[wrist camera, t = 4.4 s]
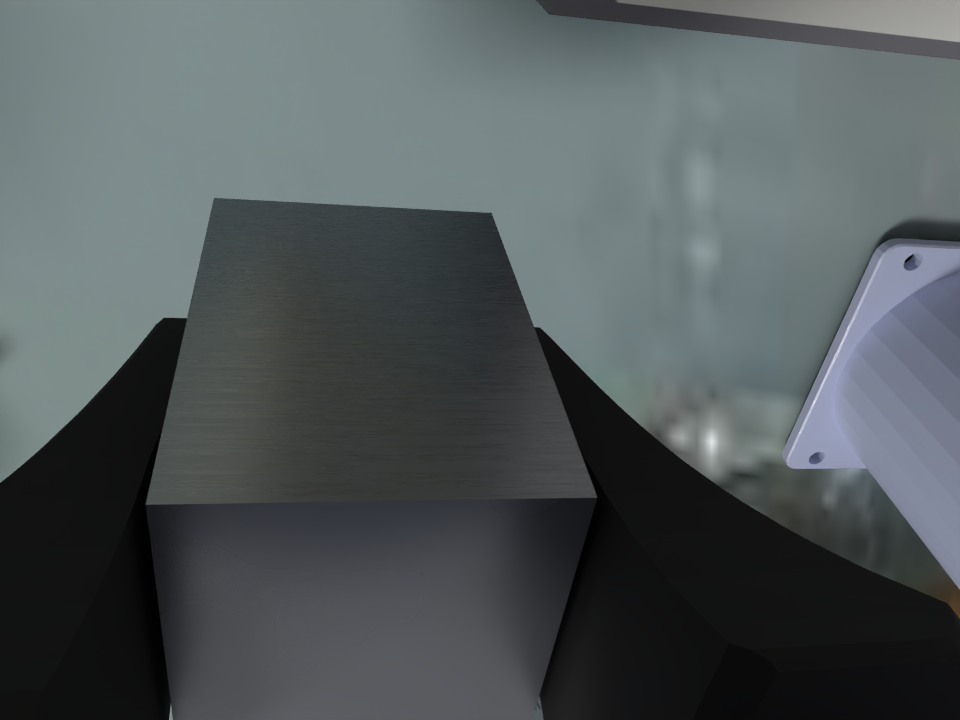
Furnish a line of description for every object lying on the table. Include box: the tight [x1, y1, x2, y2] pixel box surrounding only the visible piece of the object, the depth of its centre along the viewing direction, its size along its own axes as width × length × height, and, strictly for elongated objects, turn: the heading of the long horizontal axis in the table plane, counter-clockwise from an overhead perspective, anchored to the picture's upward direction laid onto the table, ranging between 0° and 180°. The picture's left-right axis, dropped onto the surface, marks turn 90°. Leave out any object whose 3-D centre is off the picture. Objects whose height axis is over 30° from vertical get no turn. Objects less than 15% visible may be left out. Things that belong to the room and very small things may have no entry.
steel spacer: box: [146, 198, 597, 720], centre depth 11 cm, size 4×4×6 cm
